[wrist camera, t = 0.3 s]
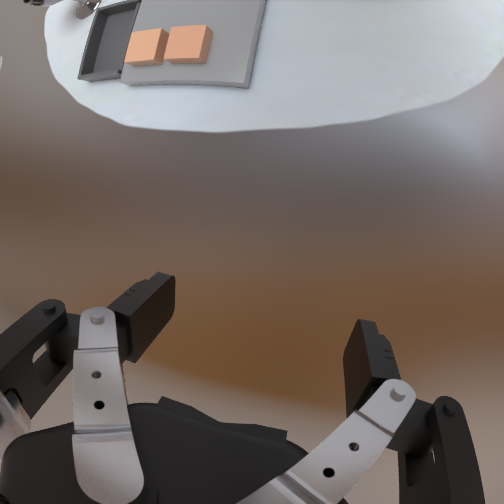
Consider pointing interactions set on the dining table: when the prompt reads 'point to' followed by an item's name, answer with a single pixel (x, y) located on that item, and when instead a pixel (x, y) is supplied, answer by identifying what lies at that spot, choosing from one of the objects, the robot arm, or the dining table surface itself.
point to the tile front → (188, 44)
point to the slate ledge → (221, 46)
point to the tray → (108, 41)
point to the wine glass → (85, 8)
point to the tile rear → (147, 47)
